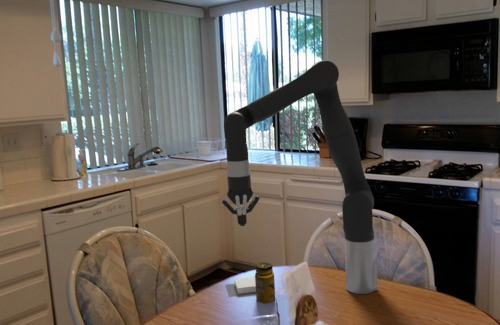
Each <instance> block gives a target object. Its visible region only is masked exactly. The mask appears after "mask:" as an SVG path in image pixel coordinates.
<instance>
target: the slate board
mask: <svg viewBox="0 0 500 325" xmlns="http://www.w3.org/2000/svg"><path fill="white" fill-rule="evenodd" d="M225 288H226V291H227V295H228V297H229V298H233V297H239V296H247V295H256V292H250V293H242V294H238V293H237V290H236V287H235V283H229V284H225Z"/></svg>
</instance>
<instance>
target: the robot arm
mask: <svg viewBox="0 0 500 325" xmlns="http://www.w3.org/2000/svg"><path fill="white" fill-rule="evenodd" d="M339 75H340V72H339V68H338V67H337V65H336V63H334V62H332V61H330V60H325V59H323V60H319V61H316V62H315V63H314V64H313V65H312V66H310V67H309V69H306V71H305V72H303V73H302V74H301V75H299V76H298V77H295V79H292V80H291V81H289V82H288V83H286V84H283V85H282V86H280V87H278V88H276V89H274V90H272V91H269V92H268V93H265V94H264V95H262V96H260V97H258V98H256V99H254V100H253V101H251V102H250V103H249V104H246V105H245V106H243V107H241V108H238V109H236V110H234V111H232V112H230V113H229V114H227V115H226V116H225V118H224V120H223V131H224V132H223V133H224V137H225V138H224V139H225V142H226V146H225V147H226V149H225V150H226V177H227V178H226V179H227V193H226V196H225V197H224V198H222V199H221V203H222V204H223V205H224V207H225V208H226V209H228V210H229V212H230V213H231V214H233V215H236V219H237V221H236V222H237V223H238V225H239V226H240V227H245V226H246V224H248V223H247V214H249V213H251V212H252V211H253V210H254V208H255V206H257V204H258V202H259V200H260V197H259V195H256V194H254V192H253V190H252V183H251V182H252V180H251V167H250V162H249V149H248V144H247V129H248V128H250V127H252V126H254V125H255V124H257V123H261V122H264V121H265V120H267V119H270V118H271V117H273V116H275V115H277V114H278V113H280V112H282V111H284V110H285V109H287V108H288V107H290V106H292V104H295V103H296V102H298V101H300V100H302V99H303V98H306V97H307V96H310V95H312V94H313V96H314V98H315V102H316V104H317V106H318V109H319V116H320V119H321V124H322V130H323V135H324V138H325V143H326V146H327V149H328V152H329V155H330V157H331V159H332V161H333V163H334V165H335V167H336V169H337V170H338V172H339V174H340V176H341V180H342V183H343V188H344V189H343V190H344V194H345V196H344V198H343V201H342V204H341V205H342V210H341V212H342V229H343V233H344V255H345V257H344V258H345V259H344V260H345V261H344V262H345V285H346V286H345V288H346V290H347V291H348V292H350V293H351V294H357V295H367V294H371V293H373V292H374V291H378V263H377V261H376V260H375V232H374V226H373V224H374V222H373V219H374V218H373V208H374V207H375V206H374V205H375V198H374V195H373V193H372V190H371V187H370V185H369V183H368V181H367V178H366V175H365V172H364V169H363V165H362V158H361V155H360V154H361V153H360V150H359V144H358V141H357V138H356V134H355V131H354V128H353V125H352V123H351V121H350V118H349V116H348V114H347V112H346V110H345V108H344V107H343V104H342V101H341V97H340V95H339V94H340V93H339V89H338V81H339V77H340V76H339ZM250 200H251V201H250ZM230 201H231V203H232V204H234V205H235V209H234V208H233V206H232V205H231V204H230ZM249 201H250V203H249ZM247 204H248V206H247Z"/></svg>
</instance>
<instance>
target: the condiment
mask: <svg viewBox="0 0 500 325" xmlns="http://www.w3.org/2000/svg"><path fill="white" fill-rule="evenodd" d="M273 270H274V269H273V265H272V263H270V262H259V263H257V264H256V265H255V274H254V276H255V283H256V294H255V297H256V302H258V303H260V304H269V303H270V304H271V303H272V302H274V301H275V299H276V288H275V285H276V283H275V273H274V271H273Z"/></svg>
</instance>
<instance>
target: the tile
mask: <svg viewBox="0 0 500 325" xmlns="http://www.w3.org/2000/svg"><path fill="white" fill-rule="evenodd" d="M233 280H234V284H235V287H236V290H237V293H238V294H242V293H250V292H256V283H255V275H254V276H248V277H240V278H239V277H238V278H234V279H233Z"/></svg>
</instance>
